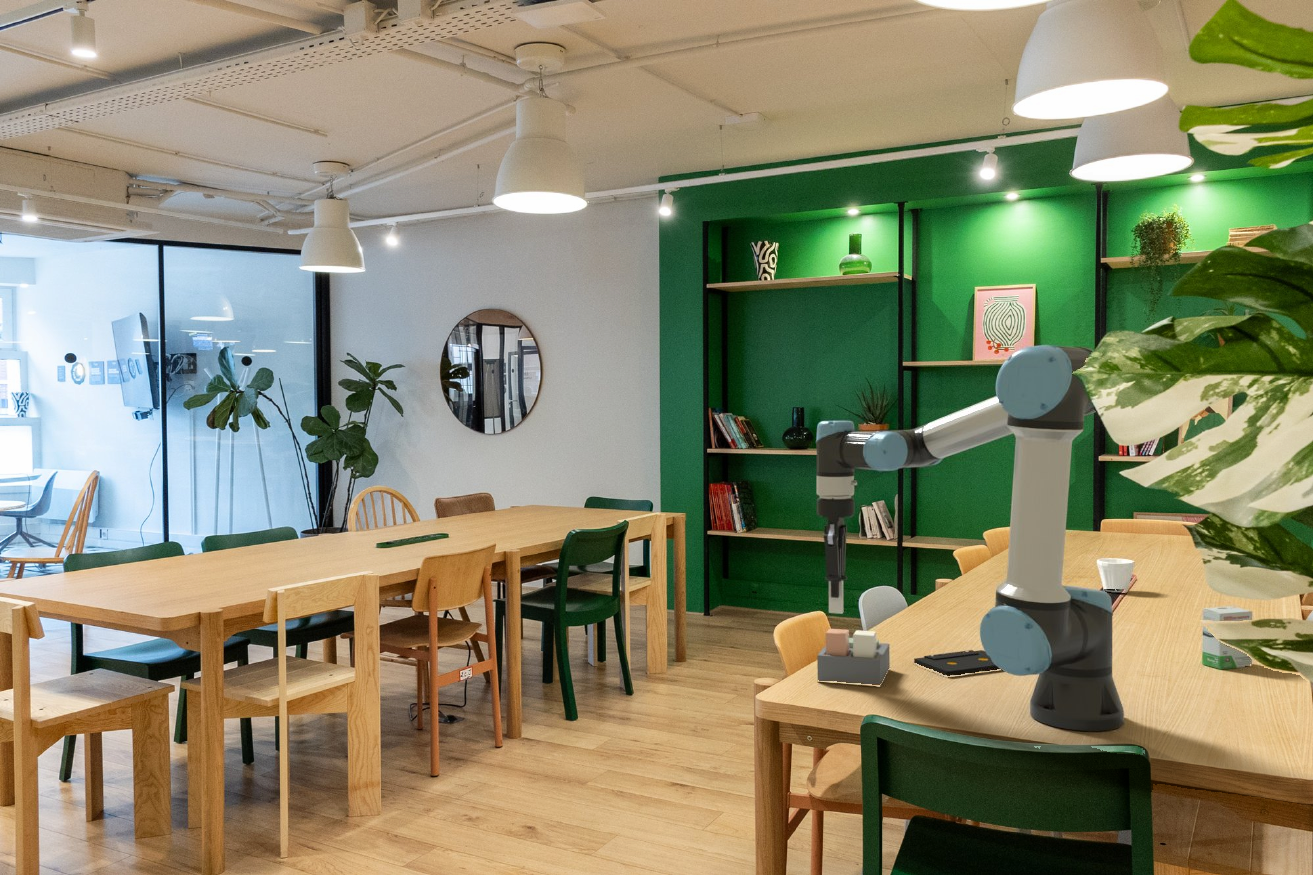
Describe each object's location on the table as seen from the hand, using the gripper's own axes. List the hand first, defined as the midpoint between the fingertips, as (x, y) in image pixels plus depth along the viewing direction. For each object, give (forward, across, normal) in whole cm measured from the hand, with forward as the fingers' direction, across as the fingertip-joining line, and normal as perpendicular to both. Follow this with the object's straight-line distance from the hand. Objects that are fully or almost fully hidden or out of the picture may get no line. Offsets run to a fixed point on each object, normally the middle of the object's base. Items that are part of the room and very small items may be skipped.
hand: (836, 612), depth 199 cm
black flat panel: (+14, +18, -24) cm, 33 cm away
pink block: (+10, 0, 0) cm, 10 cm away
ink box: (+13, +34, -75) cm, 84 cm away
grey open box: (+14, +3, -3) cm, 14 cm away
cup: (+14, +116, -60) cm, 132 cm away
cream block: (+10, 0, -6) cm, 11 cm away
